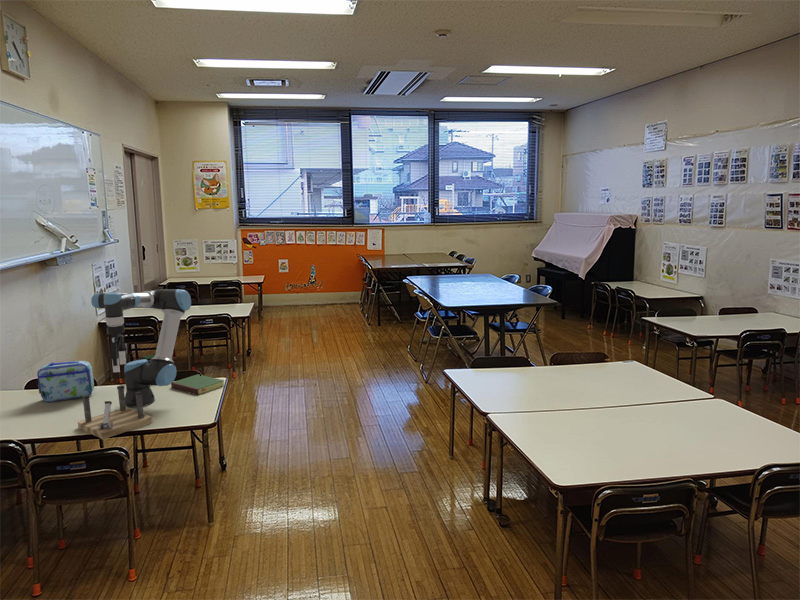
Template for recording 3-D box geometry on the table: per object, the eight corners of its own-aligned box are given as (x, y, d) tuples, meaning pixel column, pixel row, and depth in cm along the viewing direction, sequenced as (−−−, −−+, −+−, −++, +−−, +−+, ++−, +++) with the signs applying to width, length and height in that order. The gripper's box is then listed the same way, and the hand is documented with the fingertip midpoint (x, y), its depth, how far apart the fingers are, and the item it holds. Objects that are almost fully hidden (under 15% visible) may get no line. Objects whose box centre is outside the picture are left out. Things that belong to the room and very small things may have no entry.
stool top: (78, 427, 268) (74, 396, 265) (126, 412, 287) (123, 383, 284) (102, 439, 254) (99, 406, 251) (152, 422, 273) (149, 391, 270)
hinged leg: (109, 428, 259) (107, 428, 257) (103, 429, 258) (101, 428, 256) (112, 402, 264) (110, 401, 261) (106, 402, 263) (104, 401, 261)
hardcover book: (171, 388, 326) (171, 382, 325) (198, 380, 341) (197, 374, 340) (198, 395, 312) (198, 389, 311) (225, 386, 328) (225, 380, 327)
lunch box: (38, 404, 301) (33, 367, 298) (44, 397, 311) (39, 362, 308) (92, 398, 309) (87, 362, 306) (95, 392, 319) (91, 357, 316)
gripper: (113, 320, 274) (117, 361, 278) (99, 331, 250) (104, 376, 254) (129, 319, 276) (133, 360, 280) (117, 330, 252) (122, 374, 256)
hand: (119, 368), depth 267 cm, fingers open, 13 cm apart
